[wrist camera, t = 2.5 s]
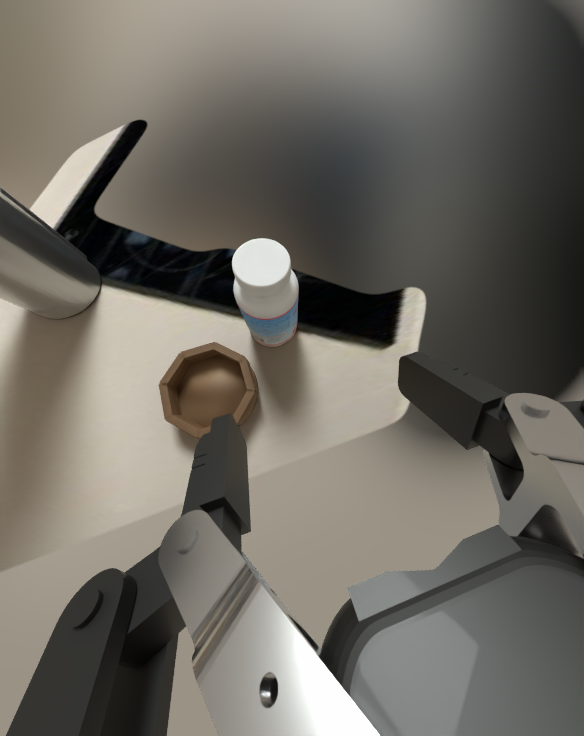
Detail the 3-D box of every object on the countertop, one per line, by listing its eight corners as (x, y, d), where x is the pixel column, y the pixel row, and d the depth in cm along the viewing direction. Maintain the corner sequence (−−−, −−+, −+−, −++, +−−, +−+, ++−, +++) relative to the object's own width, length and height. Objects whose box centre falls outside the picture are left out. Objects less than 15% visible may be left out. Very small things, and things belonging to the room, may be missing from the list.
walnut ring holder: (167, 365, 26) (152, 358, 23) (245, 341, 26) (240, 332, 24) (182, 447, 23) (168, 450, 21) (268, 418, 24) (265, 417, 21)
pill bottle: (304, 335, 27) (314, 276, 16) (261, 355, 26) (240, 308, 15) (284, 298, 28) (279, 220, 17) (242, 316, 27) (210, 247, 17)
